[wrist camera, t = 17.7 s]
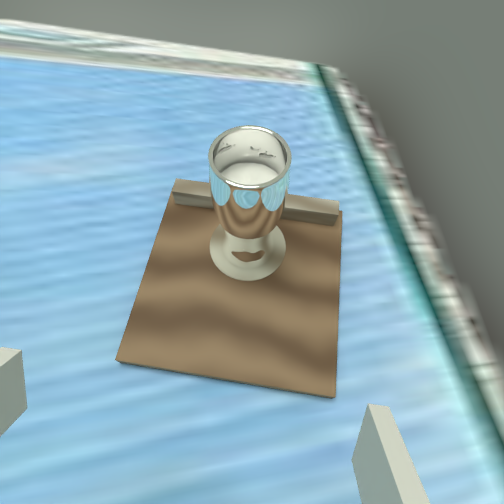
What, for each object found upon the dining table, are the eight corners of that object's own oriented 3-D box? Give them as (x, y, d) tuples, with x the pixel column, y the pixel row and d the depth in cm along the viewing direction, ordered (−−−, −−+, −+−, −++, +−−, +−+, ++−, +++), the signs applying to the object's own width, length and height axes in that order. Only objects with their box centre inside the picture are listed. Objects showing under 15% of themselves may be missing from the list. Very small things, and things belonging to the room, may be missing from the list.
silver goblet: (221, 219, 41) (211, 120, 28) (278, 222, 41) (294, 125, 28) (215, 270, 38) (199, 186, 25) (276, 274, 38) (294, 192, 25)
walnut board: (331, 398, 34) (342, 394, 30) (119, 362, 35) (106, 355, 31) (339, 217, 44) (347, 199, 40) (175, 194, 45) (169, 174, 41)
